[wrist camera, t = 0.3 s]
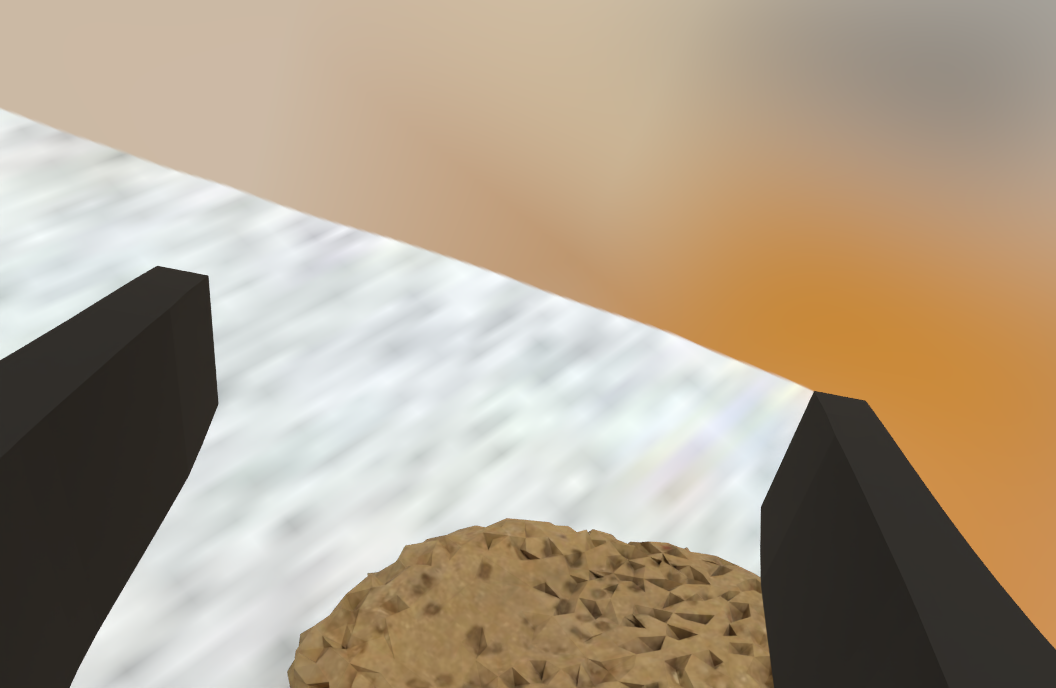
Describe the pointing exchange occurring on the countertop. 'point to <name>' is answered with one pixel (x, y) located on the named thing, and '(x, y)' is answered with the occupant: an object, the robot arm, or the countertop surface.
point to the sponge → (542, 617)
